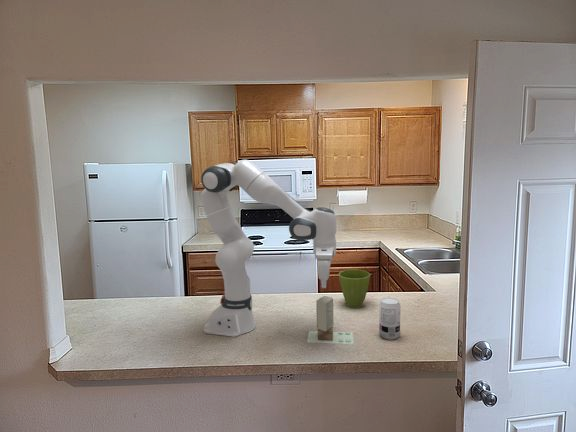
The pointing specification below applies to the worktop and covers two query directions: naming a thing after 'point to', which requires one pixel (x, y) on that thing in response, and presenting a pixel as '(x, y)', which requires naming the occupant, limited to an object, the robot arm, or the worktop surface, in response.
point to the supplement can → (389, 318)
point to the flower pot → (354, 286)
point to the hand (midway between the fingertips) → (324, 283)
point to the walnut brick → (325, 334)
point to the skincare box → (324, 313)
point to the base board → (337, 337)
